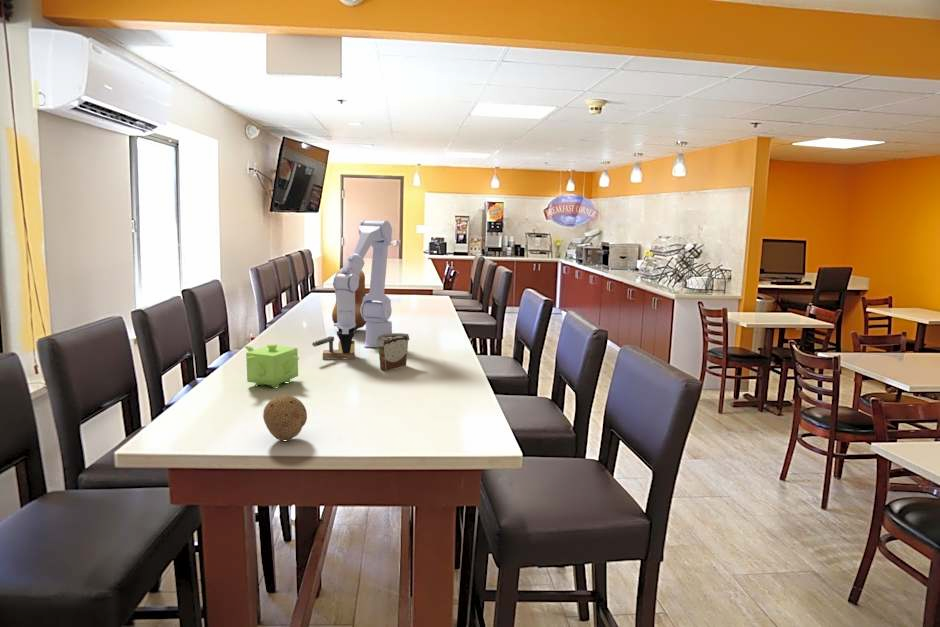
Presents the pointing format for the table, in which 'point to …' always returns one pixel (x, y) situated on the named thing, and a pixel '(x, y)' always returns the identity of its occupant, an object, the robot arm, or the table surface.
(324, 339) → the lever
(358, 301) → the butternut squash
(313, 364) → the table surface
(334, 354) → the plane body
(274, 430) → the natural sponge
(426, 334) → the table surface
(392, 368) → the food container
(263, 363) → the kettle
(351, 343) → the tan wooden block
